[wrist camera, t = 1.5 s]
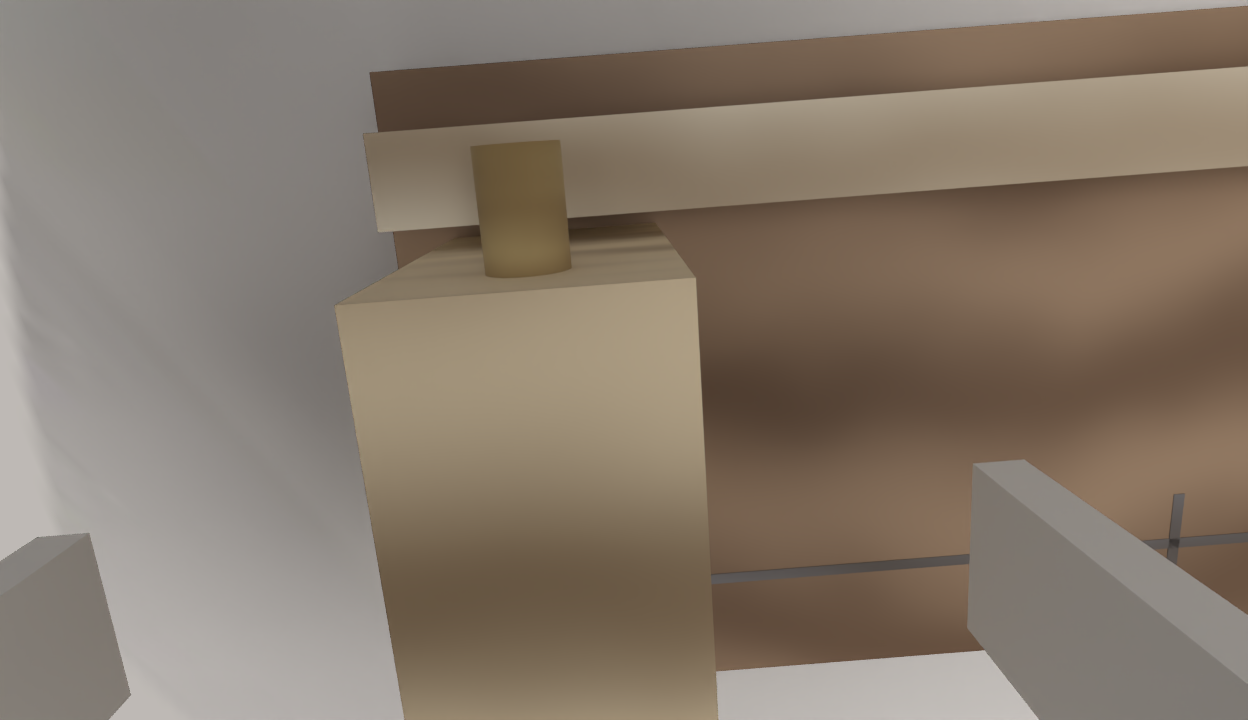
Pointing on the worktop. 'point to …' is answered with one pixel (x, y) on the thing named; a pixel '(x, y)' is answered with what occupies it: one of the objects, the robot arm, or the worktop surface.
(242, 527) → the worktop surface
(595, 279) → the marking gauge
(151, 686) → the worktop surface
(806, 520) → the walnut board
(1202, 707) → the robot arm
